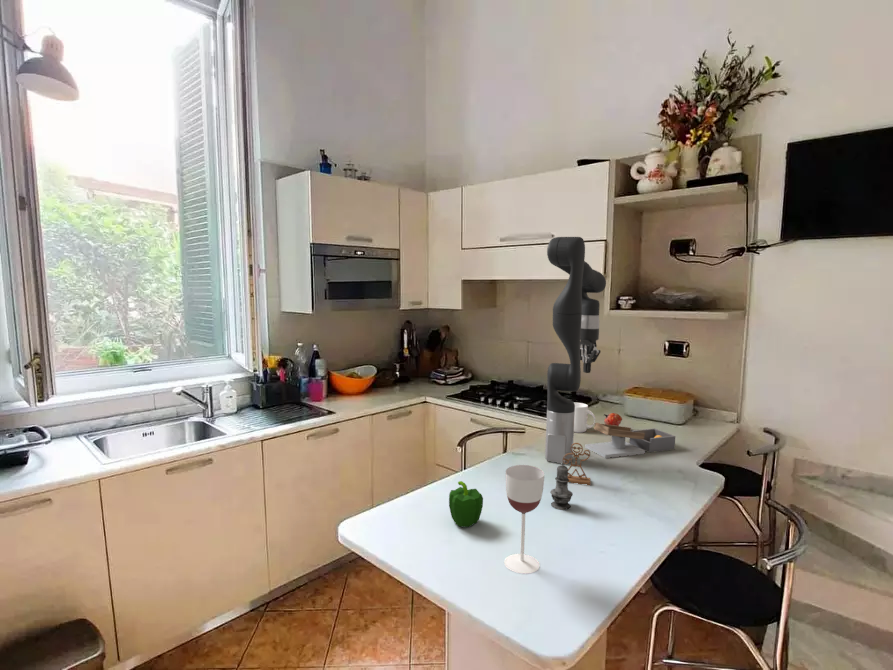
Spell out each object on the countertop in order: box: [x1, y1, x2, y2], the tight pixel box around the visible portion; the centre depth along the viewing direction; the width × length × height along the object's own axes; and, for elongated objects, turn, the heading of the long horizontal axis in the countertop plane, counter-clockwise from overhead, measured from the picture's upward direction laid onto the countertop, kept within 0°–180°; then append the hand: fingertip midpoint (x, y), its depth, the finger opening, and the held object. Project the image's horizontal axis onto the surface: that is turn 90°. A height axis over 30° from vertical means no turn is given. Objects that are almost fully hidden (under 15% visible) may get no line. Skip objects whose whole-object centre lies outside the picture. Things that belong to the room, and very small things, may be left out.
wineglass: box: [503, 464, 545, 575], centre depth 103 cm, size 8×9×20 cm
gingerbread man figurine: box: [563, 442, 591, 486], centre depth 148 cm, size 9×4×12 cm, turn 74°
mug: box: [574, 402, 596, 434], centre depth 202 cm, size 9×12×11 cm
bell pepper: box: [448, 480, 484, 528], centre depth 121 cm, size 8×8×10 cm
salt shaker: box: [550, 463, 574, 511], centre depth 131 cm, size 6×6×12 cm
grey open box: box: [628, 428, 676, 453], centre depth 183 cm, size 11×12×5 cm
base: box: [584, 436, 646, 459], centre depth 178 cm, size 12×17×6 cm
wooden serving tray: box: [593, 422, 645, 440], centre depth 181 cm, size 15×16×2 cm
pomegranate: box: [603, 412, 623, 426], centre depth 205 cm, size 7×7×10 cm
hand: (586, 372), depth 185 cm, fingers closed
